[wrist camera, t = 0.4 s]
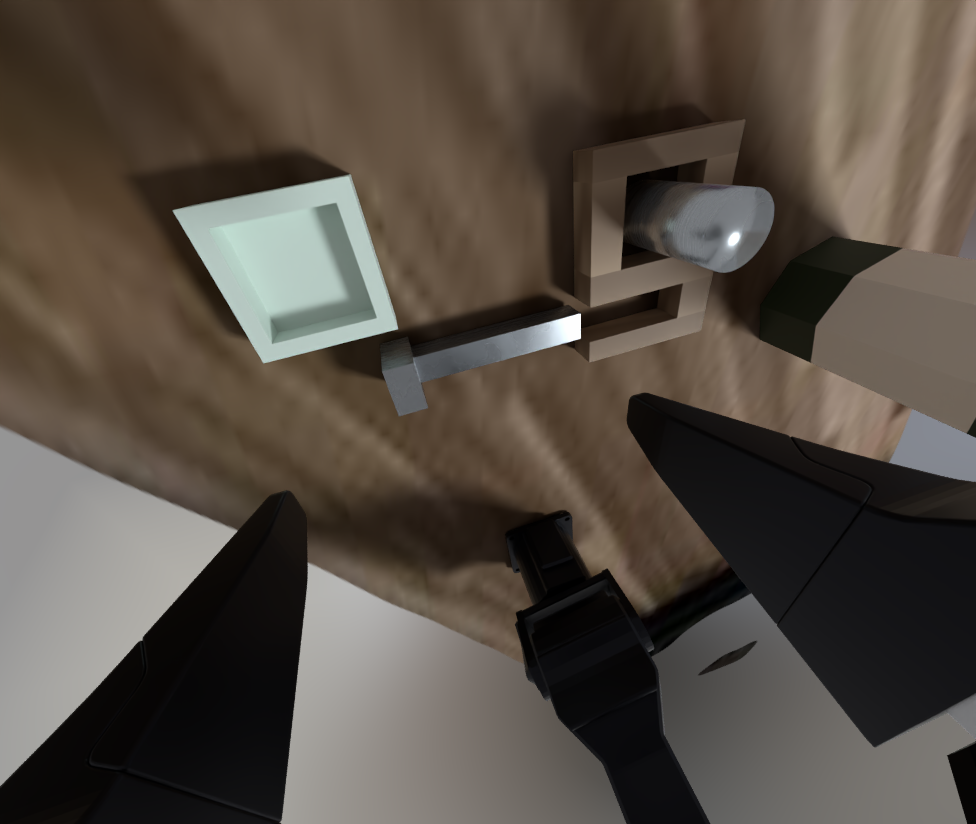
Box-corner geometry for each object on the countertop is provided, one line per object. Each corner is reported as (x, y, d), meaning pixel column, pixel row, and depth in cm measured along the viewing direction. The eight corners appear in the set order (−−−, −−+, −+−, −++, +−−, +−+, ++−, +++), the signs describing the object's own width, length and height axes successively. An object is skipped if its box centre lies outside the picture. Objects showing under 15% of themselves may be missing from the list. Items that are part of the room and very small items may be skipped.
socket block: (679, 320, 26) (700, 330, 24) (574, 349, 25) (589, 362, 23) (714, 122, 19) (745, 118, 17) (572, 151, 18) (592, 149, 16)
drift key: (569, 337, 24) (595, 360, 21) (394, 385, 22) (398, 416, 20) (568, 295, 22) (596, 314, 19) (379, 343, 21) (382, 371, 18)
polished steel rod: (660, 237, 22) (761, 263, 16) (611, 248, 21) (697, 280, 16) (667, 174, 20) (785, 179, 14) (614, 185, 19) (714, 195, 14)
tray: (395, 314, 20) (398, 329, 18) (272, 345, 19) (263, 363, 18) (350, 174, 16) (348, 176, 15) (193, 204, 15) (172, 210, 14)
